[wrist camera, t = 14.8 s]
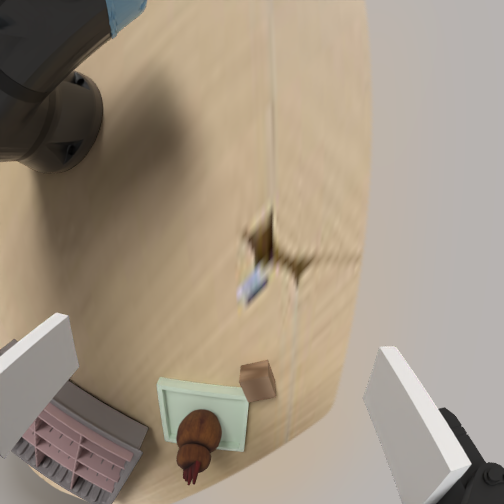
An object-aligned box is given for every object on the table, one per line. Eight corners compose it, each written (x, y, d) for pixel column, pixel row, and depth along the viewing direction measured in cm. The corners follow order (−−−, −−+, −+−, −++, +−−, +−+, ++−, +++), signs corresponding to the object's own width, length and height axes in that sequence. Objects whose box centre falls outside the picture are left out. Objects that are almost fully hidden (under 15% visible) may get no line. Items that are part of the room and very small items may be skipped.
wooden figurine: (210, 399, 43) (193, 473, 28) (230, 421, 44) (220, 494, 29) (176, 410, 44) (153, 479, 29) (197, 431, 45) (180, 499, 30)
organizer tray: (17, 429, 52) (1, 449, 43) (16, 330, 43) (-15, 354, 33) (115, 491, 55) (105, 517, 45) (155, 422, 46) (139, 461, 36)
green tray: (167, 433, 46) (165, 441, 44) (160, 376, 43) (156, 384, 41) (244, 443, 46) (243, 451, 44) (249, 388, 43) (249, 396, 41)
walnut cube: (249, 385, 43) (247, 402, 39) (241, 365, 42) (239, 382, 38) (274, 379, 42) (275, 396, 38) (267, 359, 41) (268, 376, 38)
